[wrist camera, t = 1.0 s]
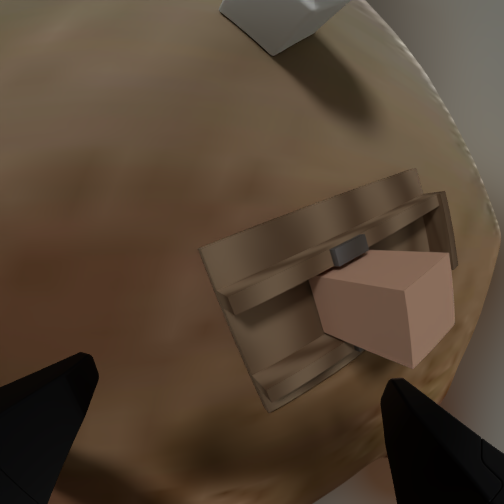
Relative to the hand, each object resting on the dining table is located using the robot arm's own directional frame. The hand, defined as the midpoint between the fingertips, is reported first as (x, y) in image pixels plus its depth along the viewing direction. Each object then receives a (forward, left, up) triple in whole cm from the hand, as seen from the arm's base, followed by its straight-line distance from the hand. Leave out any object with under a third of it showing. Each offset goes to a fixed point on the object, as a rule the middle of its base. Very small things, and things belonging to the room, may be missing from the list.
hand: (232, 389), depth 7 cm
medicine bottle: (+23, +12, -12) cm, 29 cm away
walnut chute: (+12, -10, -12) cm, 19 cm away
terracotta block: (+9, -9, -11) cm, 17 cm away
